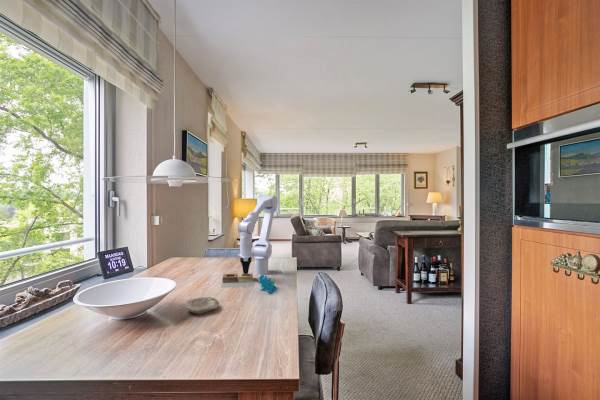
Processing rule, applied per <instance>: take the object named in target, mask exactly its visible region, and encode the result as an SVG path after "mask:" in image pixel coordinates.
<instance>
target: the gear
mask: <svg viewBox="0 0 600 400" xmlns="http://www.w3.org/2000/svg"><path fill="white" fill-rule="evenodd" d="M258 279H259V280H258V283H259V284H260V287H261V289H260V291H262V292H263V291H265V292H267V291H268V294H269V295H272V294H274V293H275V292H277V286H276V285H275V283H276V281H275V280H272V278H271V277H269V278H268V275H267V274H265V275H259V277H258Z"/></svg>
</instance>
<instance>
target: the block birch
mask: <svg viewBox="0 0 600 400" xmlns="http://www.w3.org/2000/svg"><path fill="white" fill-rule="evenodd" d="M253 273H254V272H248V276H243V272H242V273H238V282H253V277H254V275H253Z"/></svg>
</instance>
